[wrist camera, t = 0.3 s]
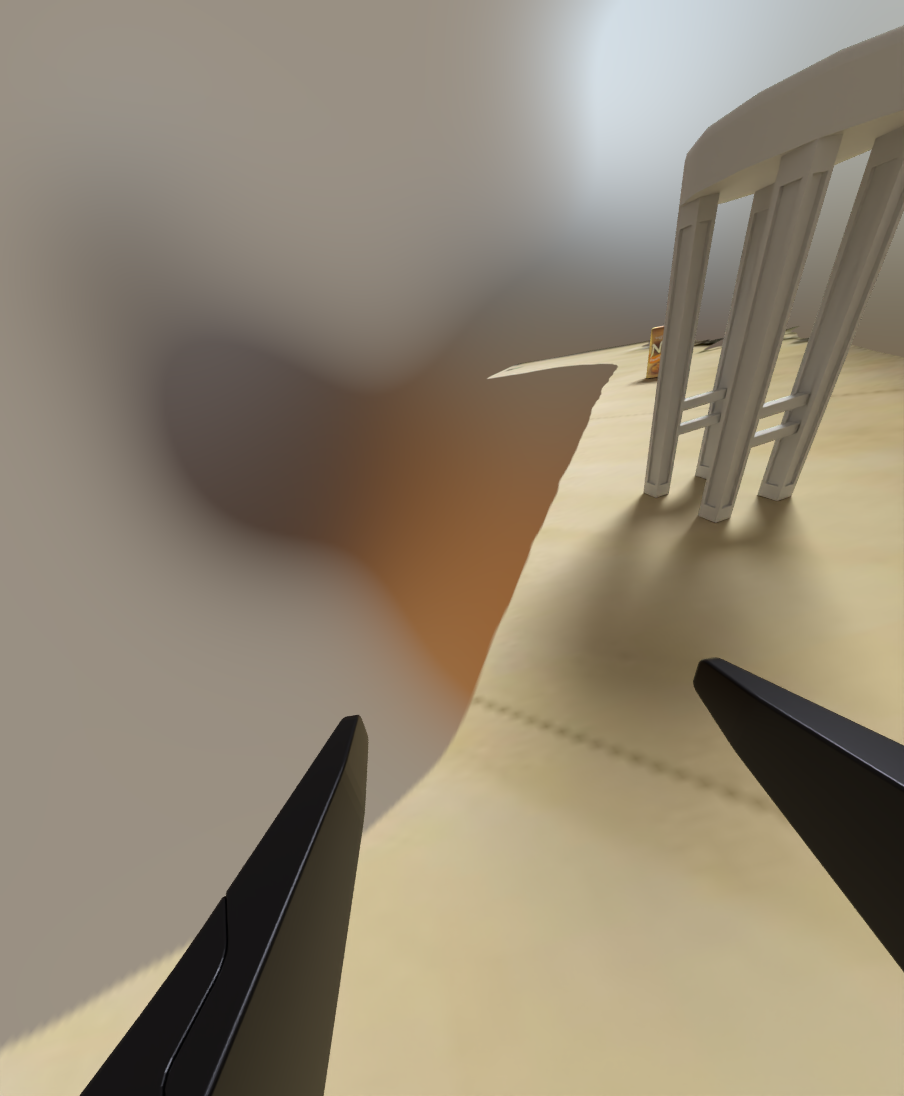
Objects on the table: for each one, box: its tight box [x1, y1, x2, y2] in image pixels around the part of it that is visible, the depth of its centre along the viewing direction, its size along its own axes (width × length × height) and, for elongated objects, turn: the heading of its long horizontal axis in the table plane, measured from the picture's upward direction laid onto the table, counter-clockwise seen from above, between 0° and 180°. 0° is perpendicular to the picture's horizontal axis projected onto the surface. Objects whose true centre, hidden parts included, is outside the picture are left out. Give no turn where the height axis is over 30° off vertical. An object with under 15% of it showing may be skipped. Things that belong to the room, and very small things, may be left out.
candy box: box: [646, 326, 664, 378], centre depth 110 cm, size 9×4×15 cm, turn 54°
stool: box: [644, 25, 904, 523], centre depth 35 cm, size 16×16×35 cm
